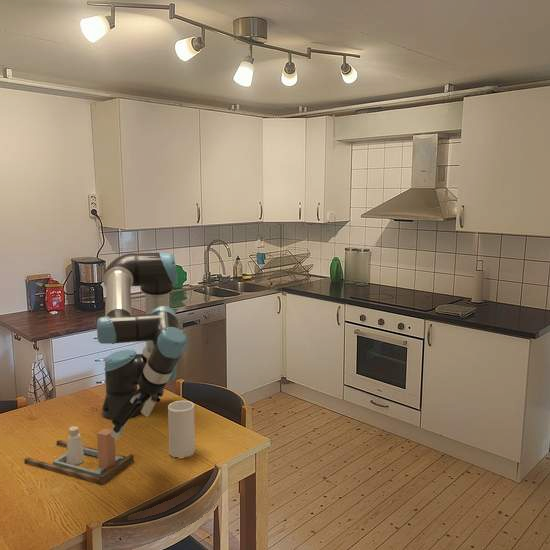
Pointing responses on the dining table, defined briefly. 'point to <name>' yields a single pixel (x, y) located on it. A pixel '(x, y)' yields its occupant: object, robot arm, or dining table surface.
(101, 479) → the track
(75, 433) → the salt shaker
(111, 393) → the robot arm
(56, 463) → the frame
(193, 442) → the cup
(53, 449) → the dining table surface
